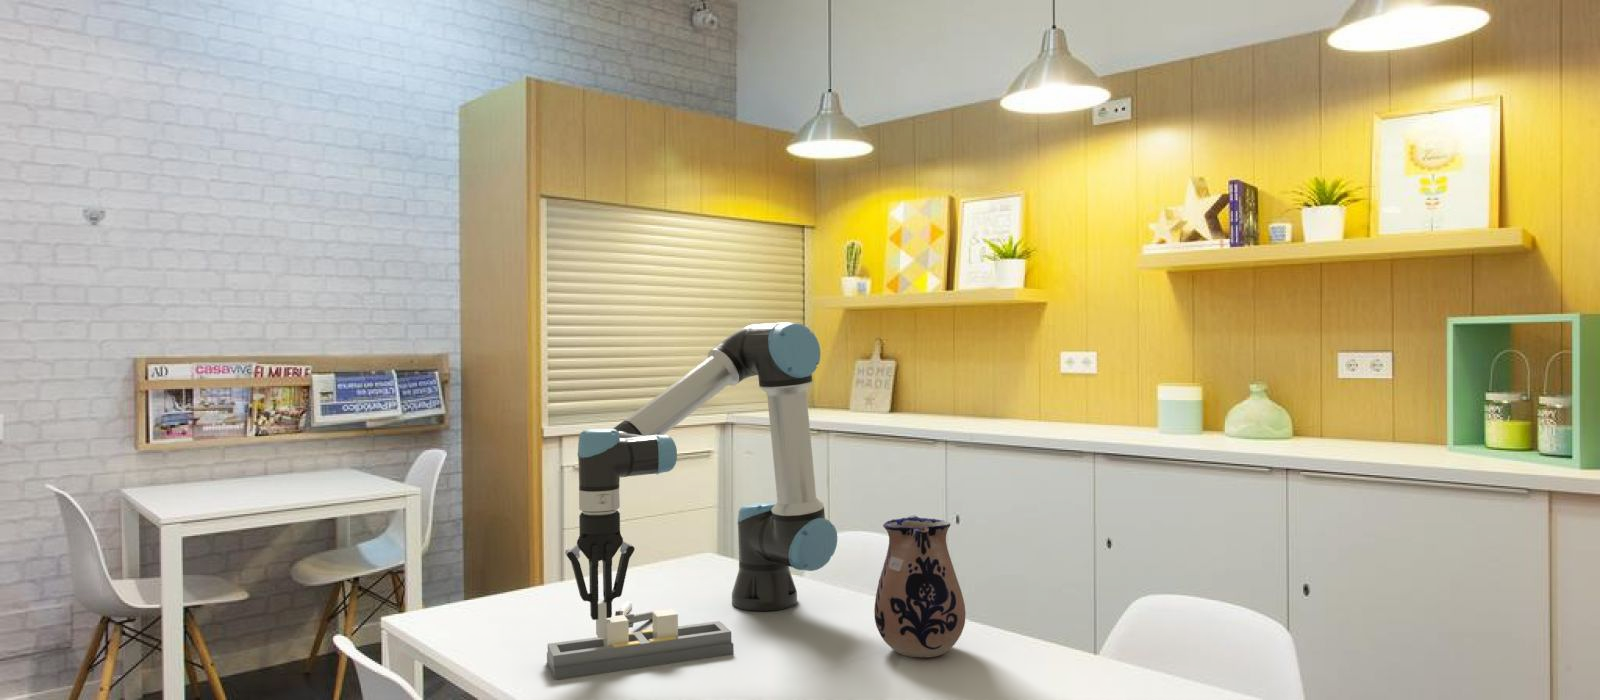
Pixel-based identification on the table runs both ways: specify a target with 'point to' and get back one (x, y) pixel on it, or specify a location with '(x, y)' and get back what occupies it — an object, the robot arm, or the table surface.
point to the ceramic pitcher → (919, 590)
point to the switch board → (638, 650)
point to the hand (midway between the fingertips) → (601, 635)
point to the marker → (626, 607)
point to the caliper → (635, 617)
